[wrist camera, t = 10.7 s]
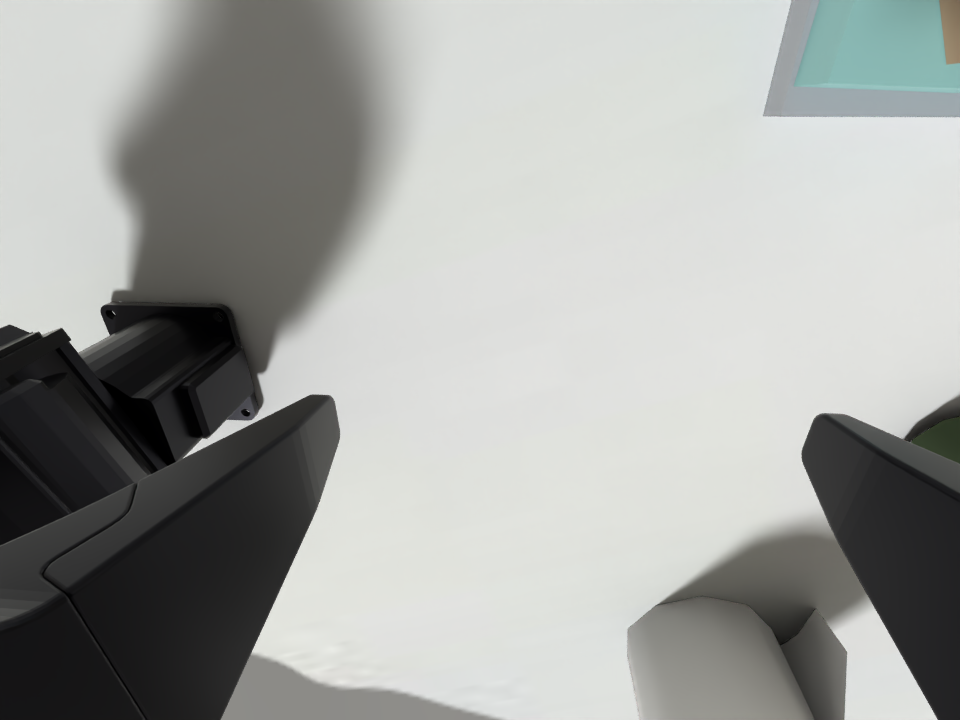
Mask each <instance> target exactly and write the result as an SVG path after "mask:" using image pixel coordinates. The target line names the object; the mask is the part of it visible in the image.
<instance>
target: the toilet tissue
mask: <svg viewBox="0 0 960 720" xmlns="http://www.w3.org/2000/svg"><path fill="white" fill-rule="evenodd" d="M627 657H628V662H629V667H630V672H631V678H632V683H633V688H634V694H635V699H636V704H637V709H638V715H639V720H844V713H845V690H846V666H847V651H846V650H845V648H844V647H843V646H842V644H841V643H840V641H839V640H838V639H837V637H836V636H835V634H834V633H833V632H832V630H831V629H830V627H829V626H828V625H827V623H826V622H825V620H824V619H823V618H822V616H821V615H820V613H819V612H818V611H817V609H815V610H814V612H813V613H812V615H811V616H810V617H809V619H808V620H807V622H806V623H805V625H804V626H803V627H802V629H801V630H800V632H799V633H798V634H797V635H796V636H795V637H793V638H792V639H790V640H789V641H787V642H785V643H784V644H782V645H781V646H779V643H778V641H777V639H776V637H775V635H774V633H773V631H772V629H771V628H770V627H769V626H768V625H767V624H766V623H765V622H764V621H763V620H762V619H761V618H760V617H759V616H758V615H757V614H756V613H755V612H754V611H753V610H752V609H751V608H750V607H749V606H748V605H745V604H740V603H735V602H730V601H725V600H720V599H715V598H710V597H705V596H700V597H695V598H690V599H685V600H681V601H676V602H671V603H666V604H661V605H657V606H655V607H653V608H652V609H651V610H650V611H649V612H647V613H646V614H645V615H644V616H643V617H641V618H640V619H639V620H638V621H637V622H635V623H634V624H633V625H632V626H630V627H629V628H628V636H627Z"/></svg>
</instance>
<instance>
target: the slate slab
mask: <svg viewBox="0 0 960 720" xmlns="http://www.w3.org/2000/svg"><path fill="white" fill-rule="evenodd" d="M819 1H820V0H792V1H791V5H790V9H789V13H788V17H787V21H786V25H785V29H784V33H783V37H782V41H781V45H780V49H779V53H778V57H777V61H776V66H775V70H774V74H773V78H772V82H771V86H770V90H769V94H768V98H767V102H766V106H765V110H764V114H763V116H780V117H960V93H941V92H917V91H892V90H868V89H844V88H819V87H795V86H794V83H795V80H796V76H797V73H798V70H799V67H800V63H801V60H802V57H803V53H804V50H805V47H806V43H807V40H808V37H809V34H810V30H811V27H812V24H813V20H814V17H815V14H816V10H817V7H818V4H819Z"/></svg>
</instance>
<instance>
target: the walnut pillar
mask: <svg viewBox="0 0 960 720" xmlns="http://www.w3.org/2000/svg"><path fill="white" fill-rule="evenodd" d="M939 3H940V12H941V21H942V30H943V38H944V47H945V56H946V65H948V64H956V63H960V0H939Z"/></svg>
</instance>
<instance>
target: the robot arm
mask: <svg viewBox="0 0 960 720" xmlns="http://www.w3.org/2000/svg"><path fill="white" fill-rule="evenodd" d="M112 311H113V312H114V313H115V314H116V315H115V314H114V313H113V312H112ZM218 312H219V313H220V314H222V316H223V318H221V317H219V315H218ZM101 315H102V317H103V320H104V322H105V325H106V327H107V330H108V332H109V334H110V336H109V337H107V338H105V339H103V340H101V341H99V342H98V343H96V344H94V345H92V346H90V347H88V348H87V349H85V350H83V351H81V352H79V353H78V352H77V351H76V350H75V349H74V347H73V346H72V345H71V344H70V342H69V341H71V339H70V337H69V336H68V335H67V334H66V332H65V331H64V330H63V329H62V328H60V329H57V330H54V331H51V332H48V333H46V334H43V335H41V333H40V332H35V333H33V332H31V333H29V332H26V331H24V330H22V329H19V328H17V327H14V326H12V325H7V326H5V327H2V328H0V720H221V718H222V716H223V713H224V711H225V709H226V707H227V705H228V702H229V700H230V698H231V696H232V694H233V692H234V689H235V687H236V685H237V683H238V681H239V678H240V676H241V674H242V672H243V670H244V667H245V665H246V663H247V661H248V659H249V657H250V655H251V652H252V650H253V648H254V646H255V644H256V641H257V639H258V637H259V635H260V633H261V630H262V628H263V626H264V624H265V622H266V620H267V617H268V615H269V613H270V611H271V609H272V606H273V604H274V602H275V600H276V598H277V596H278V593H279V591H280V589H281V587H282V585H283V582H284V580H285V578H286V576H287V574H288V571H289V569H290V567H291V565H292V563H293V561H294V558H295V556H296V554H297V552H298V550H299V547H300V545H301V543H302V541H303V539H304V537H305V534H306V532H307V530H308V528H309V526H310V523H311V521H312V519H313V517H314V514H315V512H316V510H317V507H318V504H319V502H320V499H321V496H322V493H323V490H324V487H325V483H326V480H327V477H328V474H329V471H330V468H331V465H332V462H333V459H334V456H335V452H336V449H337V446H338V443H339V439H340V428H339V423H338V417H337V412H336V406H335V401H334V399H333V398H332V397H331V396H330V395H309V396H307V397H305V398H303V399H301V400H299V401H297V402H295V403H293V404H291V405H289V406H287V407H285V408H283V409H281V410H279V411H277V412H275V413H273V414H271V415H269V416H267V417H265V418H263V419H261V420H259V421H257V422H255V423H253V424H251V425H249V426H247V427H245V428H243V429H241V430H239V431H237V432H235V433H233V434H231V435H229V436H227V437H225V438H223V439H221V440H219V441H217V442H215V443H213V444H211V445H209V446H207V447H205V448H203V449H201V450H199V451H197V452H195V453H193V454H191V455H189V456H187V457H185V458H184V456H185V455H186V454H187V453H188V452H189V451H190V450H191V449H192V448H193V447H194V446H195V445H196V444H197V443H198V442H199V441H200V440H201V439H202V438H203V439H207V438H209V437H210V436H211V435H212V434H213V433H214V432H215V431H216V430H217V429H218V428H219V427H220V426H221V425H222V424H223V423H224V422H225V421H226V420H252V419H254V417H255V416H256V415H257V414H258V412H259V411H258V406H257V402H256V398H255V395H254V387H253V383H252V379H251V375H250V372H249V368H248V364H247V361H246V357H245V353H244V350H243V348H242V347H241V343H240V339H239V336H238V332H237V328H236V325H235V321H234V317H233V314H232V312H231V310H230V309H229V308H228V307H227V306H225V305H222V304H186V303H137V302H111V303H108V304H106V305H104V306H103V307H101ZM246 409H247V410H249V411H250V412H248V411H246ZM802 462H803V465H804V467H805V469H806V472H807V474H808V476H809V479H810V481H811V483H812V486H813V488H814V490H815V493H816V495H817V497H818V499H819V502H820V504H821V506H822V509H823V511H824V513H825V516H826V518H827V520H828V523H829V525H830V527H831V529H832V531H833V533H834V535H835V538H836V539H837V541H838V543H839V545H840V547H841V549H842V551H843V553H844V554H845V556H846V558H847V560H848V561H849V563H850V565H851V567H852V568H853V570H854V572H855V574H856V576H857V577H858V579H859V581H860V583H861V584H862V586H863V588H864V590H865V591H866V593H867V595H868V597H869V599H870V600H871V602H872V604H873V606H874V607H875V609H876V611H877V613H878V614H879V616H880V618H881V620H882V622H883V623H884V625H885V627H886V629H887V630H888V632H889V634H890V636H891V637H892V639H893V641H894V643H895V645H896V646H897V648H898V650H899V652H900V653H901V655H902V657H903V659H904V660H905V662H906V664H907V666H908V668H909V669H910V671H911V673H912V675H913V676H914V678H915V680H916V682H917V683H918V685H919V687H920V689H921V691H922V692H923V694H924V696H925V698H926V699H927V701H928V703H929V705H930V706H931V708H932V710H933V712H934V714H935V715H936V717H937V719H938V720H960V464H959V463H956V462H954V461H952V460H949V459H947V458H945V457H942V456H940V455H938V454H936V453H933V452H931V451H929V450H926V449H924V448H922V447H919V446H917V445H915V444H913V443H910V442H908V441H906V440H903V439H901V438H899V437H896V436H894V435H892V434H889V433H887V432H885V431H883V430H880V429H878V428H876V427H873V426H871V425H869V424H866V423H864V422H862V421H859V420H857V419H855V418H853V417H850V416H848V415H845V414H829V413H822V414H819V415H817V416H816V417H815V418H814V420H813V422H812V425H811V427H810V430H809V433H808V435H807V438H806V441H805V443H804V446H803V449H802Z"/></svg>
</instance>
